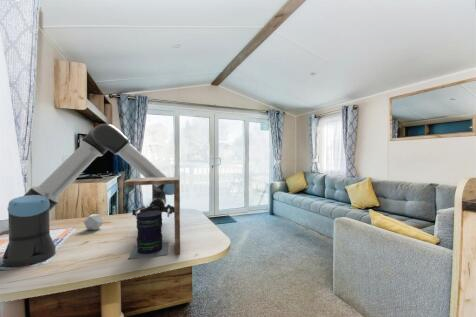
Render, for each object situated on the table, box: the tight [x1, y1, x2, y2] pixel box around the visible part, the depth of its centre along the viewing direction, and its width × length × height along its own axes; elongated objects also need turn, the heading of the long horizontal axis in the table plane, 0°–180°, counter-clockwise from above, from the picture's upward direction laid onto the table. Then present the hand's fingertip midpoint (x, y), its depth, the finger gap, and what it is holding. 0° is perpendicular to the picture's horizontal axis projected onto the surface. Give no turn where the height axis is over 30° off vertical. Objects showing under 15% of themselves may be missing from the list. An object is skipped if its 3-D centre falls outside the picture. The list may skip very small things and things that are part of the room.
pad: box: [127, 241, 169, 260], centre depth 94 cm, size 14×13×1 cm
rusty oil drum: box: [136, 211, 163, 254], centre depth 94 cm, size 10×10×15 cm
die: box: [83, 213, 104, 231], centre depth 123 cm, size 8×9×10 cm
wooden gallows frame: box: [123, 176, 181, 256], centre depth 94 cm, size 20×14×30 cm
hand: (152, 215), depth 104 cm, fingers open, 13 cm apart
